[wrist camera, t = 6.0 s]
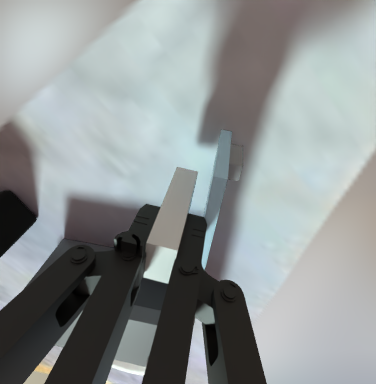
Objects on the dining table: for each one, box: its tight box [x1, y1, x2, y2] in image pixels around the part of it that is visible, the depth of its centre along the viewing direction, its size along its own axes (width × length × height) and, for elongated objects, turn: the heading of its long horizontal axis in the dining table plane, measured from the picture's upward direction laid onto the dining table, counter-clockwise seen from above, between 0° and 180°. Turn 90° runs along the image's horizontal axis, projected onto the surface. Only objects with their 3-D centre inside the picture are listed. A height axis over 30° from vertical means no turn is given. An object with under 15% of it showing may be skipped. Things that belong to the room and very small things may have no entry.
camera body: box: [24, 239, 168, 367], centre depth 27 cm, size 18×11×8 cm, turn 87°
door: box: [194, 130, 243, 323], centre depth 18 cm, size 15×2×6 cm, turn 174°
